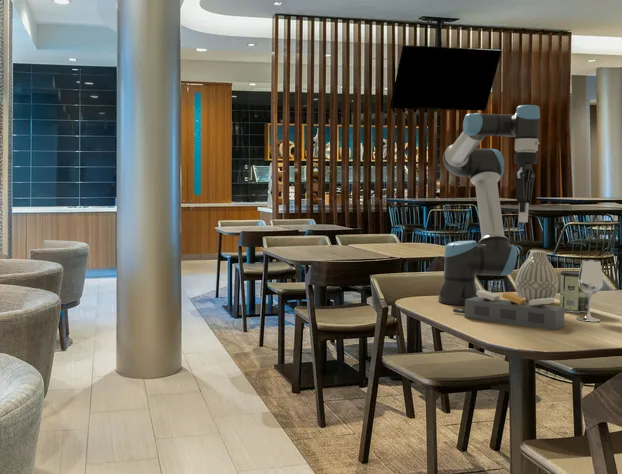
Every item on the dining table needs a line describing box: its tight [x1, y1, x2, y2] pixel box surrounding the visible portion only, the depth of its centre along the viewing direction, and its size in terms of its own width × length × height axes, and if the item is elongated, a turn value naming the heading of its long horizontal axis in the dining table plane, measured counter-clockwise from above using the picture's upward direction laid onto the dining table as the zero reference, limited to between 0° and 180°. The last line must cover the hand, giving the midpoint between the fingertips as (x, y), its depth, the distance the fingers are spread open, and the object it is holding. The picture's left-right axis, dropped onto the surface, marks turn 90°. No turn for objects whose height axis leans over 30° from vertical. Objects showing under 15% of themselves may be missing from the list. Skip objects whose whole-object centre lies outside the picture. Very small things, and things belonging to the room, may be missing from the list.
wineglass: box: [575, 259, 604, 323], centre depth 226 cm, size 8×8×20 cm
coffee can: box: [559, 270, 588, 314], centre depth 244 cm, size 10×10×14 cm
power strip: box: [452, 296, 566, 331], centre depth 223 cm, size 36×9×7 cm, turn 53°
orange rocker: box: [501, 291, 526, 305], centre depth 221 cm, size 6×4×1 cm
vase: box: [514, 249, 559, 303], centre depth 261 cm, size 16×16×20 cm
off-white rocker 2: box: [529, 298, 555, 305], centre depth 215 cm, size 6×4×1 cm
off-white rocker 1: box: [476, 289, 501, 301], centre depth 226 cm, size 6×4×1 cm
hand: (523, 222), depth 229 cm, fingers closed
